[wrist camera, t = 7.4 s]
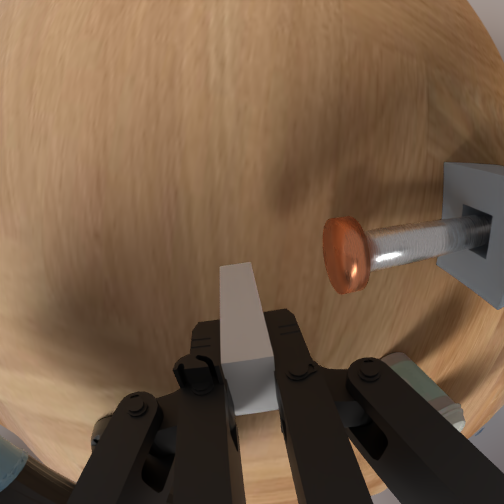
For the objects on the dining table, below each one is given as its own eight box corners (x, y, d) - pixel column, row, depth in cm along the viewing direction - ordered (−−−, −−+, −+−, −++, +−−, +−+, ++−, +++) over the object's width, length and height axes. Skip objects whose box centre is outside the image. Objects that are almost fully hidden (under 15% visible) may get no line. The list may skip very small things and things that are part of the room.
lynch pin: (323, 274, 20) (348, 308, 15) (321, 210, 18) (351, 231, 14) (467, 244, 21) (500, 263, 16) (472, 195, 19) (509, 209, 15)
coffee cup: (387, 334, 26) (449, 417, 15) (427, 349, 28) (480, 415, 17) (339, 390, 28) (378, 476, 17) (384, 397, 30) (423, 466, 19)
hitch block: (436, 264, 23) (497, 310, 15) (443, 161, 20) (522, 181, 11) (490, 249, 24) (543, 282, 16) (498, 165, 20) (560, 183, 12)
